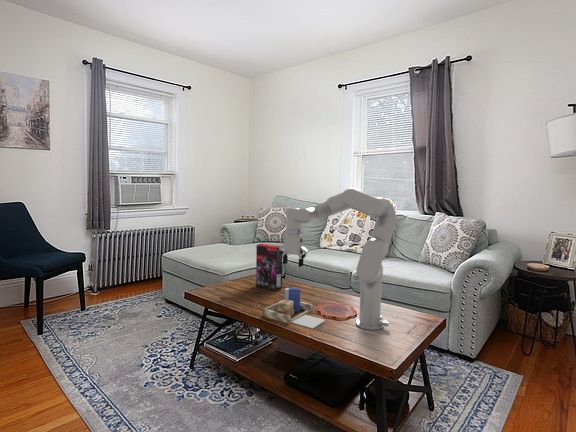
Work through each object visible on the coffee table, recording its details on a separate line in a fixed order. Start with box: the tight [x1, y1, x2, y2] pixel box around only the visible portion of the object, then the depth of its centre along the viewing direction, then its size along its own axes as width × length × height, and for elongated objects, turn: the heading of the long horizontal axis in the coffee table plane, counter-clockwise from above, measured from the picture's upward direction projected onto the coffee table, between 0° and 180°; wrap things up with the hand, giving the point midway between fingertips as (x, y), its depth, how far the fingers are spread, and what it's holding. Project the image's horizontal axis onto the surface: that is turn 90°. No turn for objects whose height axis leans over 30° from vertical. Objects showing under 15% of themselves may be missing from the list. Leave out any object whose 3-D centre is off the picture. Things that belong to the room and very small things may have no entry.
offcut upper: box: [277, 298, 294, 313], centre depth 172 cm, size 6×6×4 cm
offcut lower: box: [276, 309, 295, 318], centre depth 172 cm, size 6×6×4 cm
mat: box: [290, 314, 326, 330], centre depth 167 cm, size 12×12×1 cm
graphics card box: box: [255, 243, 283, 291], centre depth 221 cm, size 17×7×27 cm, turn 54°
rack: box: [262, 301, 313, 324], centre depth 177 cm, size 16×21×4 cm
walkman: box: [284, 287, 301, 313], centre depth 181 cm, size 8×3×12 cm, turn 86°
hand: (292, 265), depth 179 cm, fingers open, 9 cm apart
